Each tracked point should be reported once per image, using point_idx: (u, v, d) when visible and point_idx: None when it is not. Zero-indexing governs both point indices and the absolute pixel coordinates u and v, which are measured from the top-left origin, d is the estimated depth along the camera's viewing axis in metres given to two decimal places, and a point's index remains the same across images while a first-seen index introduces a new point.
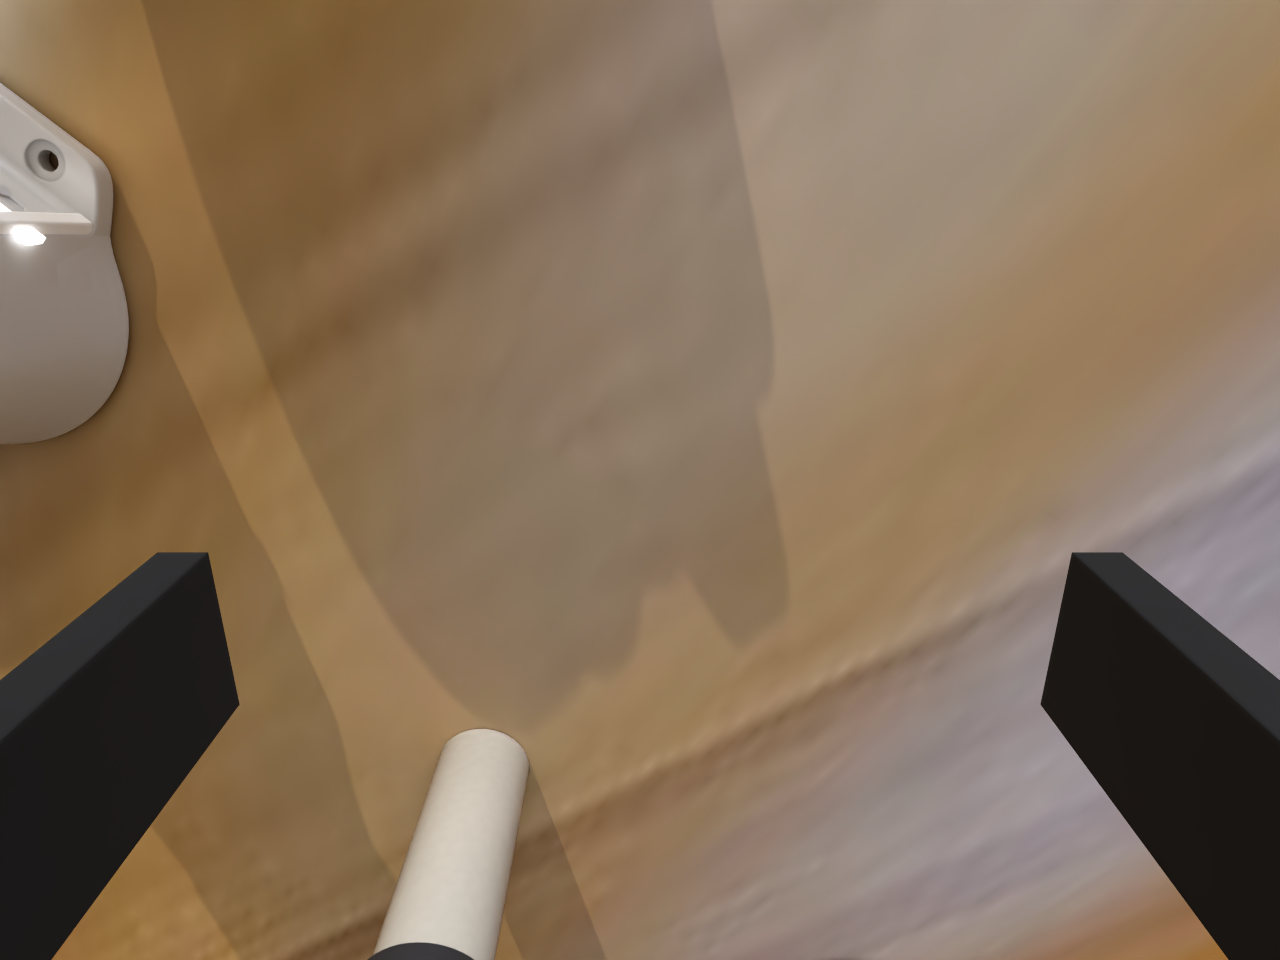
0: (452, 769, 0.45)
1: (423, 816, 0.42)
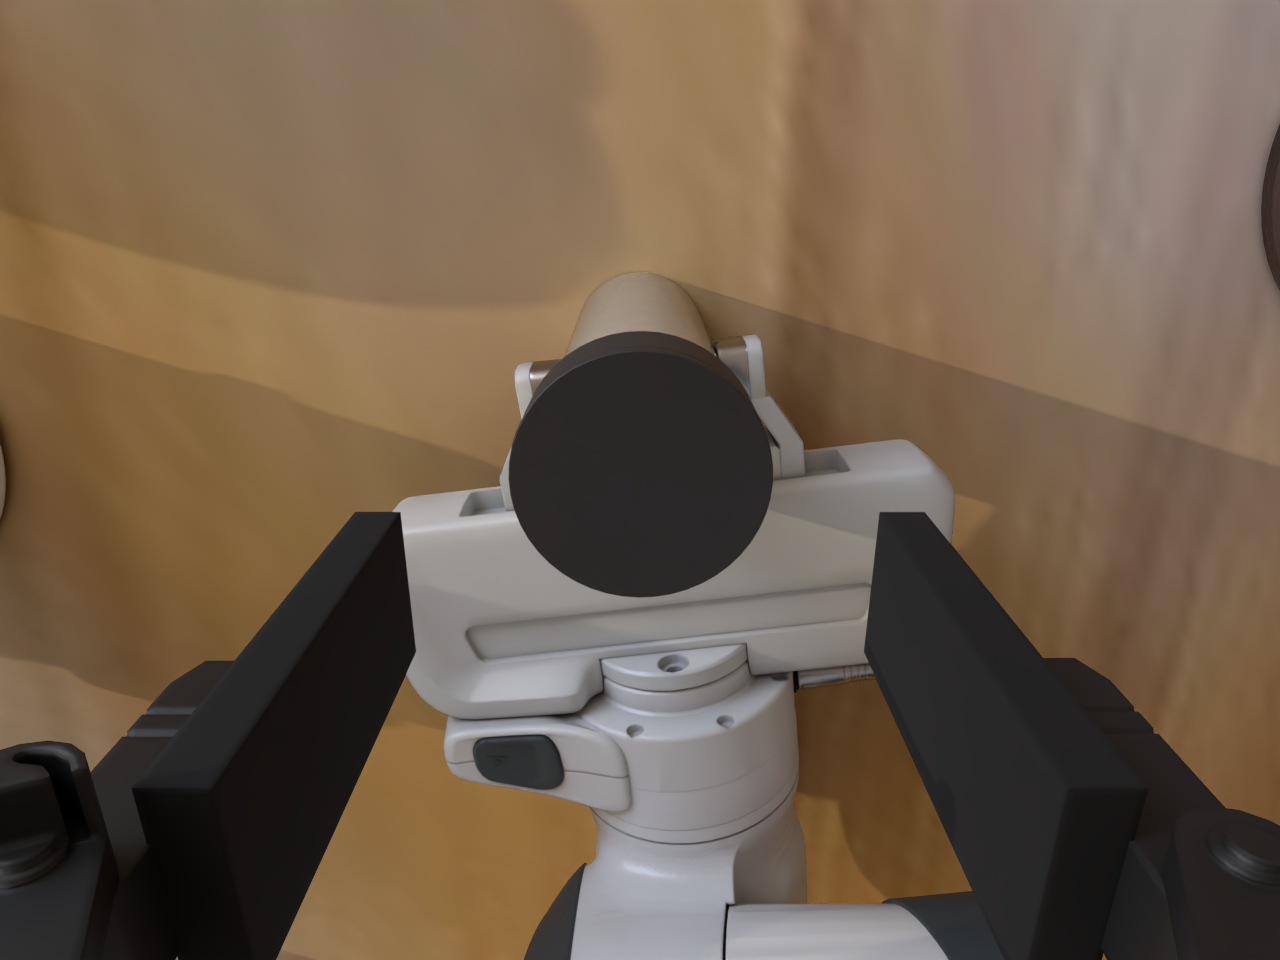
0: None
1: None
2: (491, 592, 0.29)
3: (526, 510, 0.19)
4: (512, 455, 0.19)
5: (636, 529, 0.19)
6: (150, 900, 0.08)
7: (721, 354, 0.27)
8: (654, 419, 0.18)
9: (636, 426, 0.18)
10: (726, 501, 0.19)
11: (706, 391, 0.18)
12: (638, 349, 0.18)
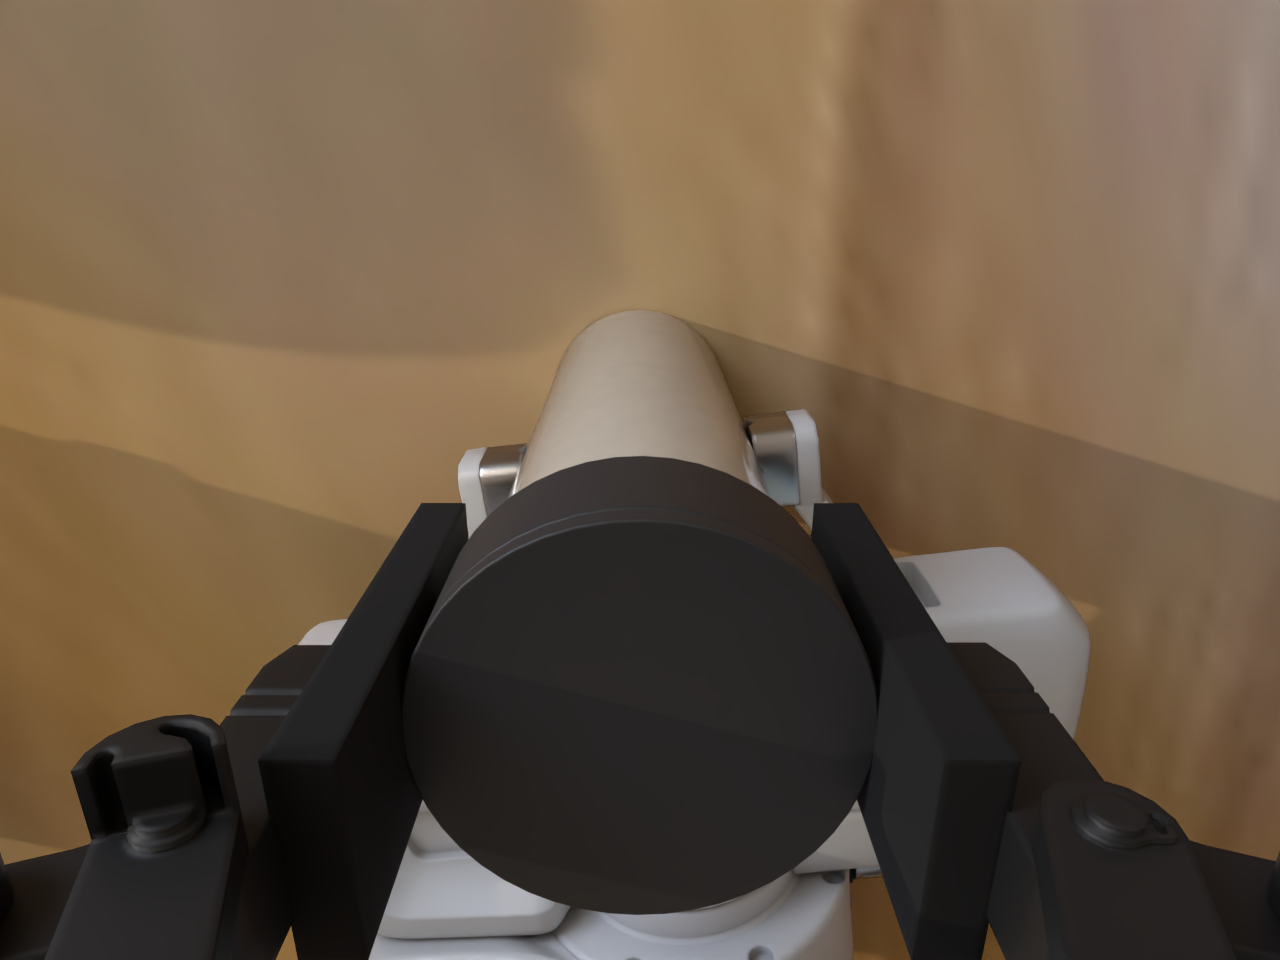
0: None
1: None
2: None
3: (435, 784, 0.11)
4: (405, 697, 0.10)
5: (630, 813, 0.11)
6: (273, 868, 0.08)
7: (757, 442, 0.18)
8: (665, 637, 0.10)
9: (631, 649, 0.10)
10: (792, 770, 0.11)
11: (762, 591, 0.10)
12: (635, 516, 0.09)
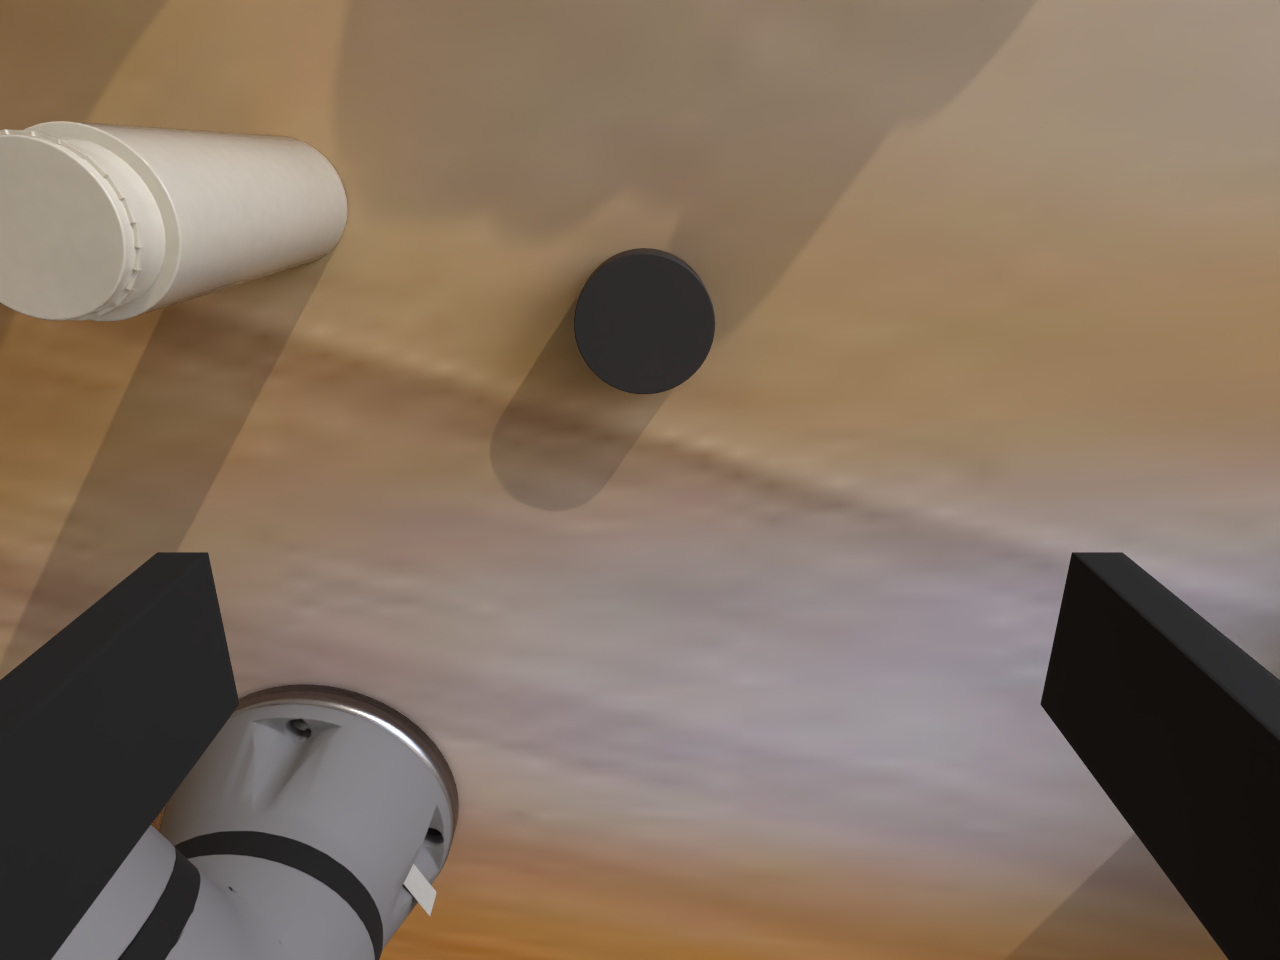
0: (274, 141, 0.32)
1: None
2: None
3: (678, 378, 0.36)
4: (651, 392, 0.37)
5: (671, 320, 0.35)
6: None
7: None
8: (609, 330, 0.36)
9: (616, 337, 0.36)
10: (641, 277, 0.35)
11: (587, 309, 0.35)
12: None
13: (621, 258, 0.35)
